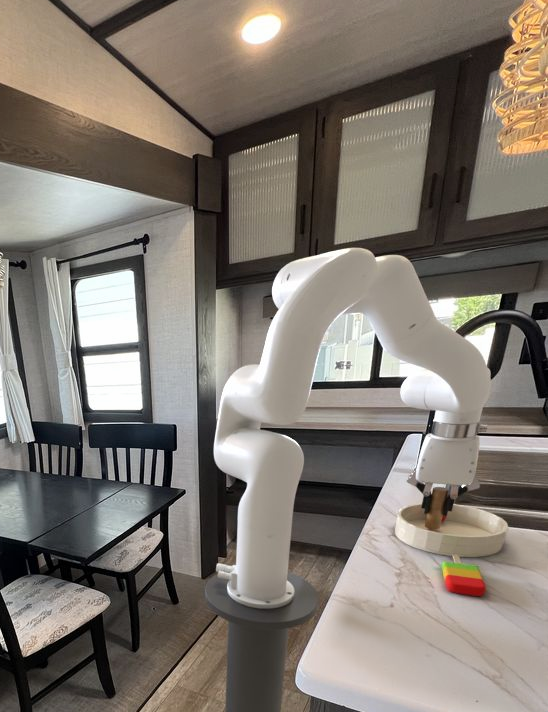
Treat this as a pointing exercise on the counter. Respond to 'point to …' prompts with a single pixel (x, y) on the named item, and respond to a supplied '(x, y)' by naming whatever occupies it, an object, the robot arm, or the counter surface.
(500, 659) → the counter surface
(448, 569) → the popsicle
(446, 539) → the bowl
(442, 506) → the brown cylinder
